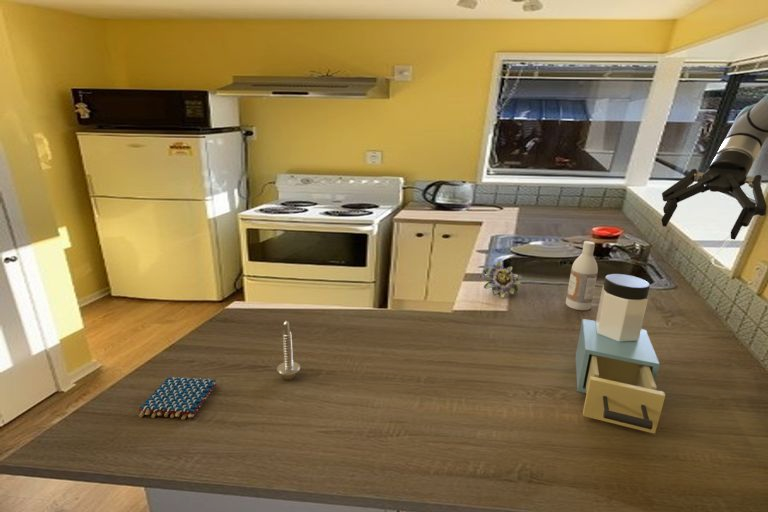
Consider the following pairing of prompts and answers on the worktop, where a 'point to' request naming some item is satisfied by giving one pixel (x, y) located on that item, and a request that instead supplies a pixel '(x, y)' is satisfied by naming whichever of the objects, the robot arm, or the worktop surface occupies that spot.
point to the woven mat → (178, 397)
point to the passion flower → (501, 280)
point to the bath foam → (582, 279)
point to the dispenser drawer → (622, 394)
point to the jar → (622, 307)
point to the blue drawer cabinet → (611, 351)
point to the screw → (288, 356)
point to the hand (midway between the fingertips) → (696, 229)
